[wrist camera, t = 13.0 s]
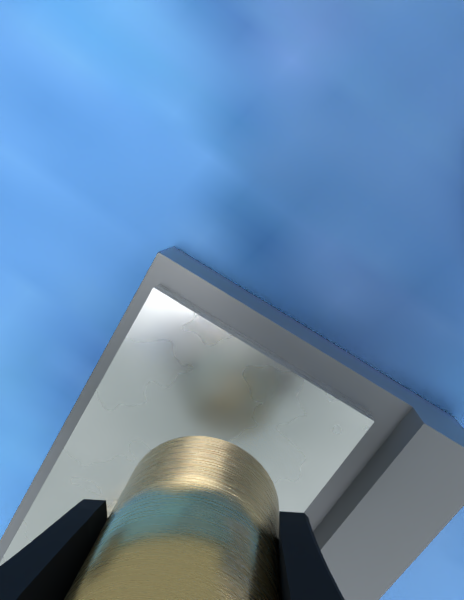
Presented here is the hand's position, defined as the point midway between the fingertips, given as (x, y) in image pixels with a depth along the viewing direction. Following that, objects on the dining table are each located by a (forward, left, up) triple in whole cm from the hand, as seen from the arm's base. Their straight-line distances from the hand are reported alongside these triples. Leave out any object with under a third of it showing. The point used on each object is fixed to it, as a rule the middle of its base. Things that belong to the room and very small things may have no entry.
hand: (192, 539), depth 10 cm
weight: (0, 0, -1) cm, 1 cm away
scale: (+3, +5, -8) cm, 10 cm away
